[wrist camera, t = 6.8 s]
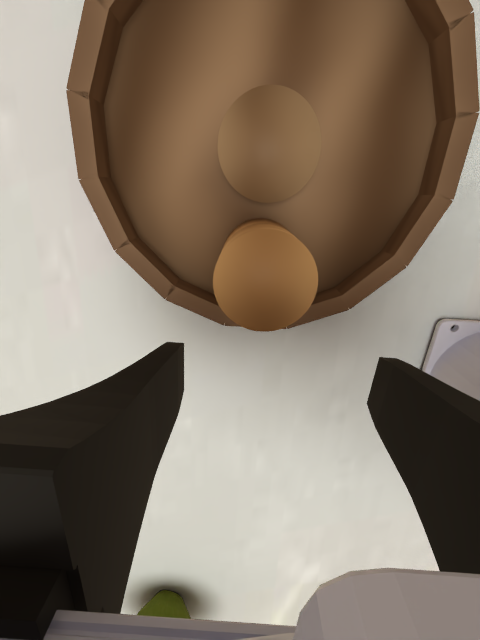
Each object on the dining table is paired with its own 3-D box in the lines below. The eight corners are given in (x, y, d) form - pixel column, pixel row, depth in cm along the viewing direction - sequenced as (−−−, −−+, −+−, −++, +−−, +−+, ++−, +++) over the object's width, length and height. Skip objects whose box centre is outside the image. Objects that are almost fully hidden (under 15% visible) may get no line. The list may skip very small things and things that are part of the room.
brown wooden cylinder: (301, 220, 18) (326, 233, 12) (291, 293, 19) (309, 334, 14) (224, 215, 18) (214, 225, 12) (221, 289, 19) (211, 328, 14)
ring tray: (505, -85, 13) (552, -135, 11) (396, 321, 20) (413, 335, 18) (64, -109, 13) (31, -164, 11) (112, 306, 20) (97, 318, 18)
